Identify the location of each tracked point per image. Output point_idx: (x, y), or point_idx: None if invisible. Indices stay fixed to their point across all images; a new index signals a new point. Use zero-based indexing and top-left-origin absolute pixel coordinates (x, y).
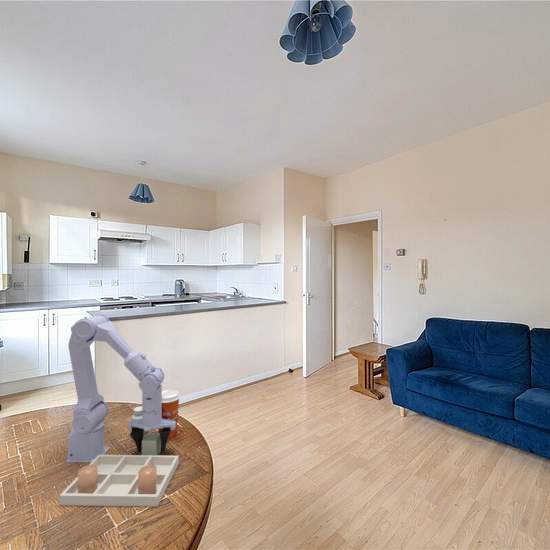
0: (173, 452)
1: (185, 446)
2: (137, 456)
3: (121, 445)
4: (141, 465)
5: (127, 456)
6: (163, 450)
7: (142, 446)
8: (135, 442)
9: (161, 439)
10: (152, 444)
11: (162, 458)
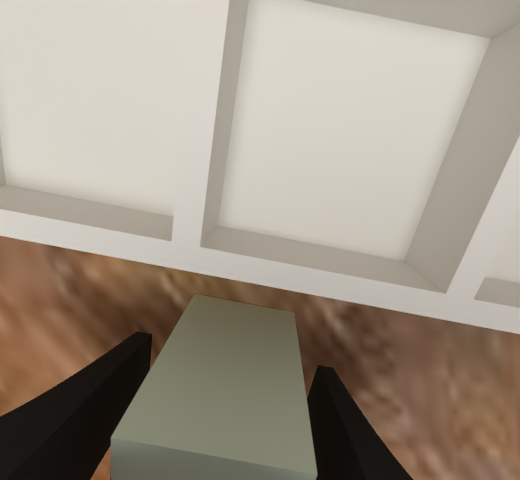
0: (100, 348)
1: (45, 390)
2: (324, 275)
3: (451, 466)
4: (276, 228)
5: (428, 295)
6: (123, 345)
7: (299, 396)
8: (393, 462)
9: (19, 447)
10: (181, 397)
11: (69, 217)
